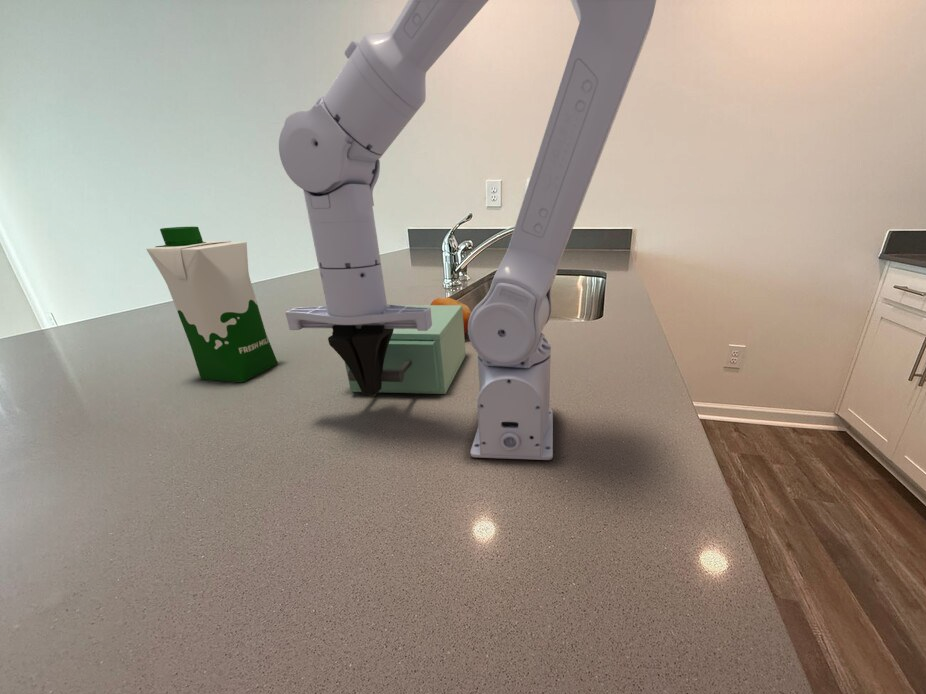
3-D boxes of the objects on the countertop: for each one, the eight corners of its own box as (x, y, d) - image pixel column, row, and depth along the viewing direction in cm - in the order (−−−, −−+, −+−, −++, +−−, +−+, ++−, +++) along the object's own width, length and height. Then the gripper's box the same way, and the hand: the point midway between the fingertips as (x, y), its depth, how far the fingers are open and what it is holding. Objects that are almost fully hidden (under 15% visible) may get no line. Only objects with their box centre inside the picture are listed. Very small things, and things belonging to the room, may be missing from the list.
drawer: (427, 410, 47) (421, 359, 44) (332, 407, 48) (320, 357, 45) (458, 355, 62) (455, 315, 59) (386, 354, 63) (380, 314, 60)
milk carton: (239, 358, 65) (194, 225, 56) (288, 362, 63) (250, 224, 55) (189, 381, 57) (129, 230, 49) (244, 386, 56) (192, 230, 47)
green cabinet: (445, 394, 52) (439, 333, 49) (351, 391, 53) (339, 332, 50) (465, 355, 64) (462, 305, 61) (388, 354, 66) (381, 304, 62)
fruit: (413, 327, 74) (431, 286, 72) (451, 342, 78) (469, 304, 76) (424, 340, 67) (444, 296, 65) (465, 356, 71) (485, 315, 70)
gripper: (434, 259, 43) (445, 378, 48) (302, 260, 44) (327, 376, 49) (413, 269, 36) (429, 405, 42) (259, 270, 37) (294, 402, 43)
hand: (372, 391), depth 45 cm, fingers closed, pressing on drawer
